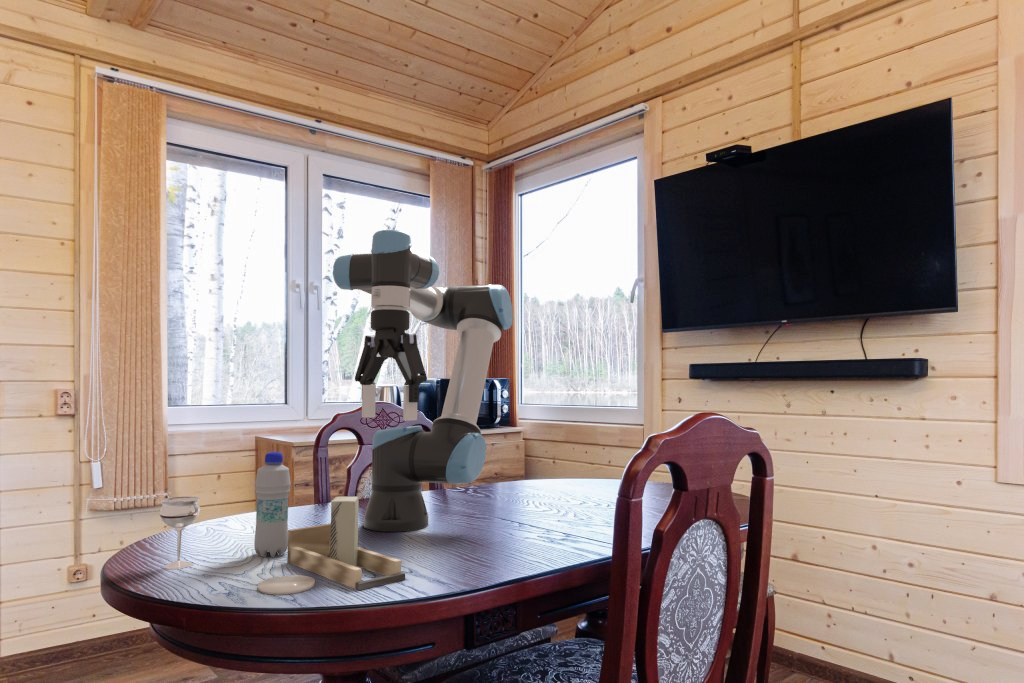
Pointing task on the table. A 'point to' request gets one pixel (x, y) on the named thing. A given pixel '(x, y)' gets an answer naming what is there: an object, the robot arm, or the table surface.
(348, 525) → the box
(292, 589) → the coaster
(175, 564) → the wineglass
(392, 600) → the table surface
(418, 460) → the robot arm
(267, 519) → the bottle
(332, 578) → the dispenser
